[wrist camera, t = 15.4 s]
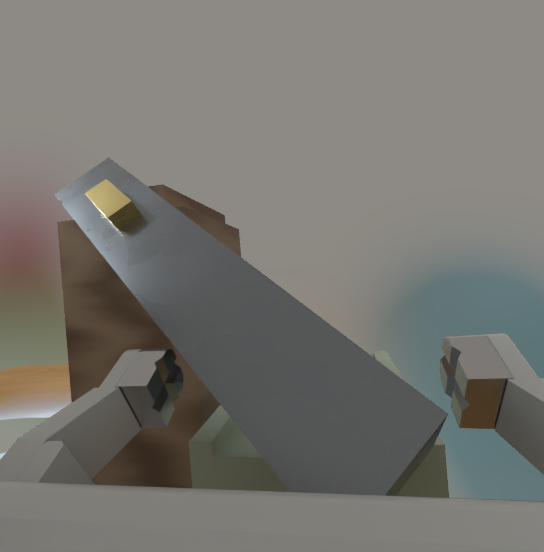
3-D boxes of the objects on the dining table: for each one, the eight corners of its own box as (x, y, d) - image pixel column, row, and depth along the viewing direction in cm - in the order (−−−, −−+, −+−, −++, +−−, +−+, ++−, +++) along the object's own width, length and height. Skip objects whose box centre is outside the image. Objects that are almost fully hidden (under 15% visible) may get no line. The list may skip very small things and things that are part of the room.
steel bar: (432, 448, 10) (452, 404, 7) (353, 550, 9) (334, 554, 6) (143, 204, 22) (100, 146, 19) (96, 238, 21) (43, 183, 18)
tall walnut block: (88, 613, 23) (55, 199, 23) (173, 496, 34) (151, 223, 34) (218, 628, 21) (182, 181, 21) (260, 499, 33) (237, 213, 33)
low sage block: (226, 917, 11) (188, 441, 11) (281, 589, 23) (263, 355, 23) (488, 990, 10) (444, 444, 10) (405, 600, 22) (385, 350, 22)
